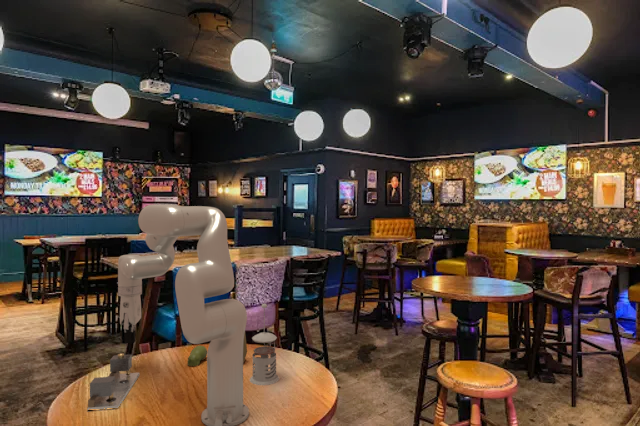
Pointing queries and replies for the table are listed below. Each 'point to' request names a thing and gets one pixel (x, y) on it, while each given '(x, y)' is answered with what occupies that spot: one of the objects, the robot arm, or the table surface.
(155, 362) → the table surface
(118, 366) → the grey block with knob
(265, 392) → the table surface
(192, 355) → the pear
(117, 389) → the bolt plate
